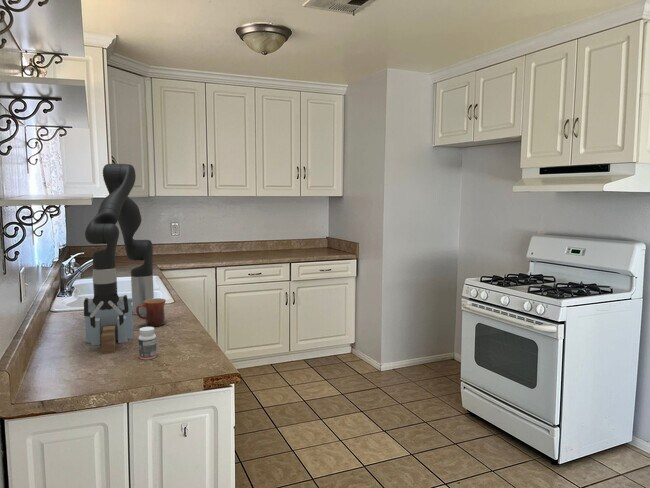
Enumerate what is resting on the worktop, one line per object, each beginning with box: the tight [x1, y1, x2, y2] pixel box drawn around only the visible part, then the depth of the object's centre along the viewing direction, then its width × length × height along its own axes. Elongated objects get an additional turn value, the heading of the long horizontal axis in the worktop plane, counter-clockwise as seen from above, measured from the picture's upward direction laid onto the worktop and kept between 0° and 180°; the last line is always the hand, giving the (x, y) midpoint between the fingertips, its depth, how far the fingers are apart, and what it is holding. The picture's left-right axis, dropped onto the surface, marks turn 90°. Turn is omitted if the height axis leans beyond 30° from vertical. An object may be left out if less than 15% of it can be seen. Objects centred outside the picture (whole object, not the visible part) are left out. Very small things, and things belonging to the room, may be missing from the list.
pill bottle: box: [138, 326, 158, 361], centre depth 167 cm, size 6×6×10 cm
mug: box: [136, 298, 167, 328], centre depth 204 cm, size 12×9×10 cm
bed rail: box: [100, 325, 117, 355], centre depth 177 cm, size 14×4×6 cm, turn 21°
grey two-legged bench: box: [84, 297, 134, 347], centre depth 183 cm, size 6×16×15 cm, turn 110°
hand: (107, 326), depth 174 cm, fingers open, 8 cm apart
